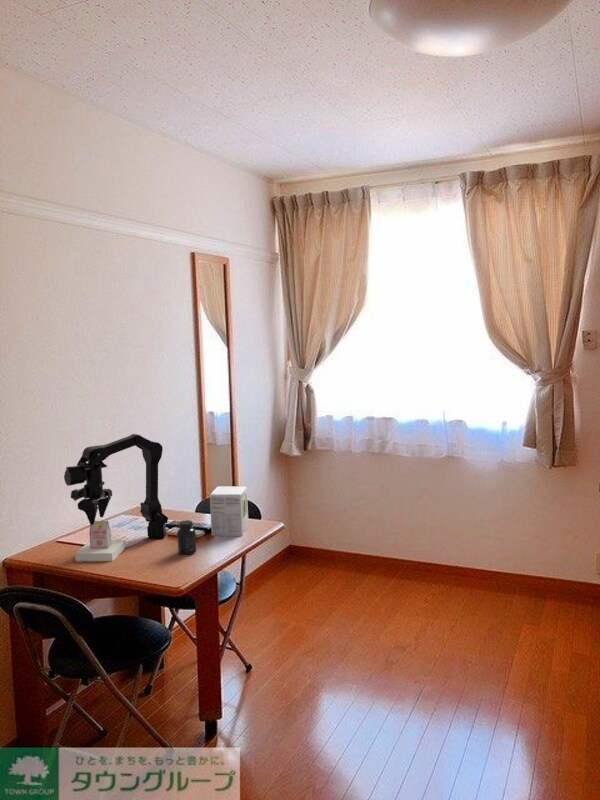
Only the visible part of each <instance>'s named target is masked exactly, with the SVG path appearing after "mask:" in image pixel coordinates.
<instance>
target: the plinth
mask: <svg viewBox="0 0 600 800" xmlns="http://www.w3.org/2000/svg"><path fill="white" fill-rule="evenodd" d="M111 543H112V545H111V546H110V547H109V548H90V540H89V541H88V542H87V543H86V544H85V545H83V546H82V547H81V548H80V549H78V550H77V551H76V552H75V553H74V555H75V562H113V561H115V559H116V558H117V557H118V556H119V555H120V554H121V553H122V552H123V551H124V550H125V549H126V548H125V547H127V542H126V539H111ZM124 548H125V549H124Z"/></svg>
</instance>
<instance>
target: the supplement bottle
mask: <svg viewBox="0 0 600 800" xmlns="http://www.w3.org/2000/svg"><path fill="white" fill-rule="evenodd" d="M178 524H179V525H178V526H179V529H178V530H177V531H176V536H177V537H176V538H177V553H178V555H180V556H183V555H188V556H192V555H194V554H195V553H196V552H197V539H196V537H197V536H196V530H195V528H194V527H193V525H194V524H193V521H192V520H189V519H188V520H181V521H180V522H178Z"/></svg>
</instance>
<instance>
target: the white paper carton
mask: <svg viewBox="0 0 600 800" xmlns="http://www.w3.org/2000/svg"><path fill="white" fill-rule="evenodd" d="M111 531H112V530H111V527H110V522H109V520H95V522H94V524H93V525H89V533H88V535H89V541H90V548H109V547H110V546H111V545H112V543H111V540H112V532H111Z"/></svg>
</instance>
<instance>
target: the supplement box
mask: <svg viewBox="0 0 600 800" xmlns="http://www.w3.org/2000/svg"><path fill="white" fill-rule="evenodd" d="M209 505H210V507H209V508H210V526H211V528H210V530H211V536H212V537H213V536H218V537H219V536H220V537H221V536H224V537H225V536H226V537H227V536H229V537H231V536H233V537H242V536H243V535H244V533H246V531H247V529H248V527H249V509H248V506H249V505H248V487H247V486H246V485H245V486H236V485H235V486H231V485H230V486H228V485H226V486H222V485H221V486H216V488H214V490H213V491H212V492H211V493H210V494H209Z"/></svg>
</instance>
